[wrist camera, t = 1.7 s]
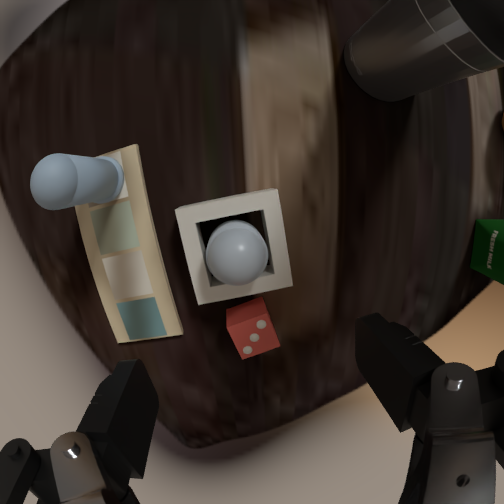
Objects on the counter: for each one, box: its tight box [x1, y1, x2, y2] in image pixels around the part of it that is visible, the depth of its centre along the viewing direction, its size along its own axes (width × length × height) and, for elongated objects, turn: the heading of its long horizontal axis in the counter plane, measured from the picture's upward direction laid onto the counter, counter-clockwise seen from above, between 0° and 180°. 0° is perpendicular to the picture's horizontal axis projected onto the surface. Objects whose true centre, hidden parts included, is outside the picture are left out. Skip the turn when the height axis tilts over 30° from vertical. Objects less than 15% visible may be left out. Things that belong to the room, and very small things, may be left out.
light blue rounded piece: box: [206, 220, 268, 286], centre depth 24 cm, size 5×5×6 cm
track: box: [75, 144, 183, 343], centre depth 27 cm, size 8×20×1 cm, turn 11°
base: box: [175, 188, 293, 305], centre depth 27 cm, size 9×9×3 cm
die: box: [226, 296, 280, 360], centre depth 29 cm, size 4×4×4 cm
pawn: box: [30, 154, 124, 210], centre depth 20 cm, size 5×5×11 cm
